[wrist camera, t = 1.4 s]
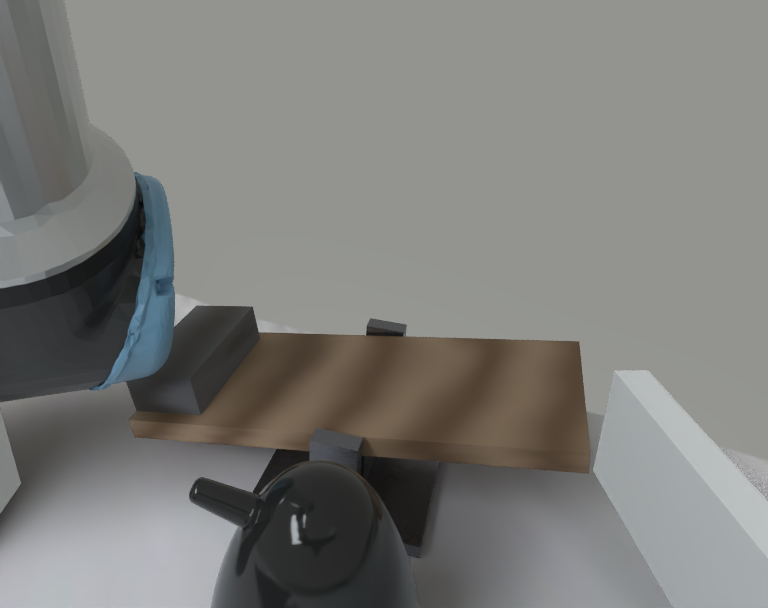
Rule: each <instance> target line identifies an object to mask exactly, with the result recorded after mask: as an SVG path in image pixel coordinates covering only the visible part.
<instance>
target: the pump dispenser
mask: <svg viewBox="0 0 768 608" xmlns="http://www.w3.org/2000/svg"><path fill="white" fill-rule="evenodd" d="M189 499H190V501H191V502H192V503H193V504H195V505H197V506H199V507H201V508H203V509H205V510H207V511H209V512H211V513H213V514H215V515H217V516H219V517H221V518H223V519H225V520H227V521H229V522H231V523H233V524H235V525H237V526H238V528H237V530H236V531H235V533H234V535H233V537H232V540H231V542H230V544H229V546H228V549H227V551H226V554H225V556H224V559H223V562H222V565H221V568H220V571H219V574H218V577H217V581H216V585H215V589H214V593H213V598H212V603H211V608H419V606H418V598H417V591H416V585H415V580H414V576H413V572H412V568H411V564H410V561H409V558H408V555H407V552H406V549H405V546H404V543H403V541H402V538H401V536H400V533H399V531H398V529H397V526H396V524H395V522H394V520H393V518H392V516H391V514H390V512H389V510H388V509H387V507H386V505H385V503H384V502H383V500H382V499H381V497H380V496H379V494H378V493H377V492H376V491H375V489H374V488H373V487H372V486H371V485H370V484H369V483H368V482H367V481H366V480H365V479H364V478H363V477H362V476H361V475H360V474H358V473H357V472H356V471H354V470H352V469H351V468H349V467H347V466H345V465H342V464H339V463H336V462H332V461H325V460H313V461H306V462H302V463H299V464H296V465H293V466H291V467H289V468H288V469H286V470H284V471H283V472H282V473H280V474H279V475H278V476H277V477H276V478H274V479H273V480H272V481H271V482H270V483H269V484H268V485H267V486H266V487H265V488H264V489H263V490H262V491H261V492H260V493H259V494H255V493H251V492H248V491H245V490H242V489H238V488H235V487H232V486H229V485H226V484H223V483H219V482H216V481H213V480H210V479H207V478H203V477H201V478H198V479H197V480H196V481H195V482H194V484H193V486H192V488H191V490H190V493H189Z"/></svg>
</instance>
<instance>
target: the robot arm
mask: <svg viewBox="0 0 768 608" xmlns="http://www.w3.org/2000/svg"><path fill="white" fill-rule="evenodd" d="M173 272H174V251H173V238H172V228H171V220H170V213H169V207H168V203H167V197H166V194H165V191H164V188H163V186H162V184H161V183H160V182H159V181H158V180H157V179H156V178H153V177H151V176H144V175H141V174H139V173H137V172H133V168H132V166H131V164H130V162H129V160H128V158H127V156H126V154H125V153H124V151H123V149H122V148H121V147H120V146H119V145H118V144H117V143H116V142H115V141H114V140H113V139H112V138H111V137H110V136H108V135H107V134H106V133H105V132H103V131H102V130H100V129H99V128H97V127H95V126H94V125H92V124H90V123H89V118H88V113H87V109H86V104H85V100H84V94H83V89H82V85H81V80H80V75H79V70H78V66H77V61H76V56H75V51H74V47H73V42H72V37H71V32H70V27H69V22H68V18H67V13H66V8H65V3H64V0H0V402H5V401H11V400H17V399H24V398H30V397H37V396H44V395H51V394H58V393H65V392H72V391H79V390H86V389H90V390H102V389H105V388H107V387H109V386H110V385H112V384H115V383H120V382H125V381H129V380H134V379H139V378H144V377H147V376H150V375H152V374H154V373H155V372H157V371H158V370H159V369H160V368H161V367H162V366H163V365H164V363H165V362H166V360H167V358H168V356H169V353H170V350H171V346H172V340H173V333H174V318H175V293H174V287H173V284H172V282H173V279H174V273H173ZM593 471H594V473H595V475H596V477H597V478H598V480H599V482H600V483H601V485H602V487H603V489H604V490H605V492H606V494H607V495H608V497H609V499H610V501H611V502H612V504H613V506H614V507H615V509H616V511H617V513H618V514H619V516H620V518H621V520H622V521H623V523H624V525H625V526H626V528H627V530H628V532H629V533H630V535H631V537H632V538H633V540H634V542H635V544H636V545H637V547H638V549H639V550H640V552H641V554H642V556H643V557H644V559H645V561H646V562H647V564H648V566H649V568H650V569H651V571H652V573H653V575H654V576H655V578H656V580H657V581H658V583H659V585H660V587H661V588H662V590H663V592H664V593H665V595H666V597H667V599H668V600H669V602H670V604H671V605H672V607H673V608H768V501H767V499H766V498H765V497H764V496H763V495H762V494H761V493H760V492H759V491H758V490H757V489H756V487H755V486H754V485H753V484H752V483H751V482H750V481H749V480H748V479H747V478H746V477H745V476H744V474H743V473H742V472H741V471H740V470H739V469H738V468H737V467H736V466H735V465H734V464H733V462H732V461H731V460H730V459H729V458H728V457H727V456H726V455H725V454H724V453H723V452H722V450H721V449H720V448H719V447H718V446H717V445H716V444H715V443H714V442H713V441H712V440H711V439H710V438H709V436H708V435H707V434H706V433H705V432H704V431H703V430H702V429H701V428H700V427H699V426H698V424H696V422H695V421H694V420H693V419H692V418H691V417H690V416H689V415H688V413H687V412H686V411H685V410H684V409H683V408H682V407H681V406H680V405H679V404H678V403H677V402H676V401H675V399H674V398H673V397H672V396H671V395H670V394H669V393H668V392H667V391H666V389H665V388H664V387H662V385H661V384H660V383H659V382H658V381H657V380H656V379H655V378H654V376H653V375H652V374H651V373H650V372H649V371H648V370H623V371H622V370H621V371H618V370H617V371H616V370H615V371H614V374H613V379H612V383H611V388H610V393H609V398H608V402H607V407H606V412H605V416H604V421H603V426H602V430H601V435H600V440H599V444H598V449H597V454H596V458H595V463H594V468H593ZM20 485H21V481H20V478H19V474H18V471H17V467H16V463H15V460H14V456H13V453H12V449H11V445H10V442H9V438H8V434H7V431H6V427H5V424H4V420H3V416H2V413H1V409H0V513H1V512H2V510H3V509H4V508H5V506H6V505H7V503H8V502H9V500H10V499H11V498H12V496H13V495H14V493H15V492H16V490H17V489H18V488H19V486H20Z"/></svg>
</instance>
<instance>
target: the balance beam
mask: <svg viewBox="0 0 768 608" xmlns="http://www.w3.org/2000/svg"><path fill="white" fill-rule="evenodd" d="M126 382H127V385H128V388H129V391H130V393H131V396H132V399H133V402H134V404H135V407H136V410H137V411H136V413H135V414H134V415H133V416H132V417H131V418H130V419H129V423H130V425H131V428H132V431H133V433H134V436H135V437H138V438H151V439H163V440H176V441H188V442H201V443H213V444H226V445H238V446H251V447H263V448H276V449H288V450H301V451H310V439H311V437H312V435H313V433H314V431H315V429H316V428H320V429H324V430H329V431H334V432H339V433H343V434H348V435H353V436H357V437H362V438H363V446H362V455H364V456H376V457H389V458H401V459H414V460H426V461H439V462H451V463H464V464H476V465H489V466H501V467H514V468H526V469H539V470H551V471H564V472H576V473H589V465H590V445H589V436H588V426H587V416H586V407H585V396H584V386H583V376H582V367H581V356H580V346H579V342H575V341H574V342H573V341H540V340H505V339H470V338H469V339H467V338H434V337H399V336H364V335H329V334H294V333H259V332H258V328H257V324H256V319H255V315H254V311H253V307H241V306H239V307H238V306H196V307H195V308H194V309H193V310H192V311H191V312H190V313H189V314H188V315H186V316H185V317H184V318H183V319H182V320H181V321H180V322H179V323H178V324H177V325H176V326H175V327H174V333H173V340H172V346H171V350H170V353H169V356H168V358H167V360H166V362H165V363H164V365H163V366H162V367H161V368H160V369H159V370H158V371H157V372H155V373H154V374H152V375H150V376H147V377H144V378H139V379H134V380H129V381H126Z"/></svg>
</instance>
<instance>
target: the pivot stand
mask: <svg viewBox="0 0 768 608" xmlns="http://www.w3.org/2000/svg"><path fill="white" fill-rule="evenodd" d="M406 326H407V325H404V324H399V323H393V322H388V321H382V320H376V319H370V321H369V323H368V325H367V332H366V333H367V334H366V336H399V337H405V336H406ZM362 446H363V438H362V437H357V436H353V435H348V434H343V433H339V432H334V431H329V430H324V429H320V428H316V429H315V431H314V433H313V435H312V437H311V439H310V451H301V450H288V449H277V450H276V452H275V453H274V455H273V457H272V459H271V460H270V462H269V464H268V466H267V468H266V469H265V471H264V473H263V475H262V477H261V478H260V480H259V482H258V484H257V486H256V487H255V489H254V491H253V493H255V494H259V493H260V492H261V491H262V490H263V489H264V488H265V487H266V486H267V485H268V484H269V483H270V482H271V481H272V480H273V479H274V478H276V477H277V476H278V475H279V474H280V473H282V472H283V471H284V470H286V469H288V468H289V467H291V466H293V465H296V464H299V463H302V462H306V461H313V460H325V461H332V462H336V463H339V464H342V465H345V466H347V467H349V468H351V469H352V470H354V471H356V472H357V473H358V474H360V475H361V476H362V477H363V478H364V479H365V480H366V481H367V482H368V483H369V484H370V485H371V486H372V487H373V488H374V489H375V491H376V492H377V493H378V494H379V496H380V497H381V499H382V500H383V502H384V503H385V505H386V507H387V509H388V510H389V512H390V514H391V516H392V518H393V520H394V522H395V524H396V526H397V529H398V531H399V533H400V536H401V538H402V541H403V543H404V546H405V549H406V552H407V555H409V556H414V557H418V558H420V553H421V549H422V544H423V539H424V534H425V530H426V525H427V520H428V515H429V511H430V506H431V501H432V496H433V492H434V487H435V482H436V477H437V473H438V468H439V463H440V462H439V461H426V460H414V459H401V458H389V457H376V456H364V455H362Z"/></svg>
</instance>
